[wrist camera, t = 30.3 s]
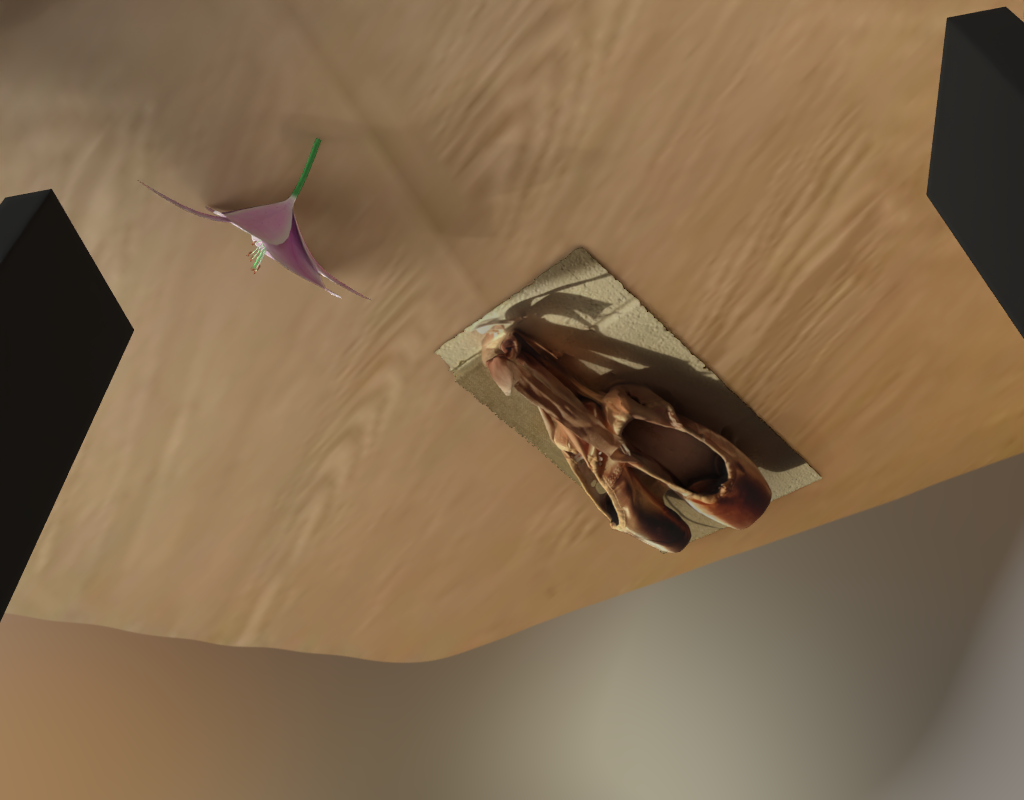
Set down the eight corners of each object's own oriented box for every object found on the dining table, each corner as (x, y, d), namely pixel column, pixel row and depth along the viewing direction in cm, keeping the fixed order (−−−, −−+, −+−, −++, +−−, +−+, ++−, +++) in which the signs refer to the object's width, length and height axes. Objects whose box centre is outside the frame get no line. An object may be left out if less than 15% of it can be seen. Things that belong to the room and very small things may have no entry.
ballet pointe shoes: (686, 624, 71) (409, 432, 57) (675, 553, 76) (418, 360, 62) (849, 547, 64) (582, 309, 50) (826, 475, 69) (576, 239, 55)
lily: (149, 91, 50) (82, 246, 47) (318, 52, 44) (256, 226, 41) (293, 218, 59) (246, 354, 56) (448, 200, 54) (406, 351, 50)
